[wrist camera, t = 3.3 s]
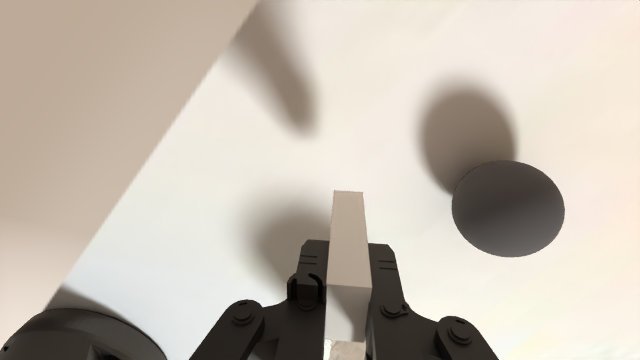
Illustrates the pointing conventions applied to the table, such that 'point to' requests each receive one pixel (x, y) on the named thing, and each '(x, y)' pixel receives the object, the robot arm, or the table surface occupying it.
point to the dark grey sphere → (508, 209)
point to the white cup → (347, 350)
